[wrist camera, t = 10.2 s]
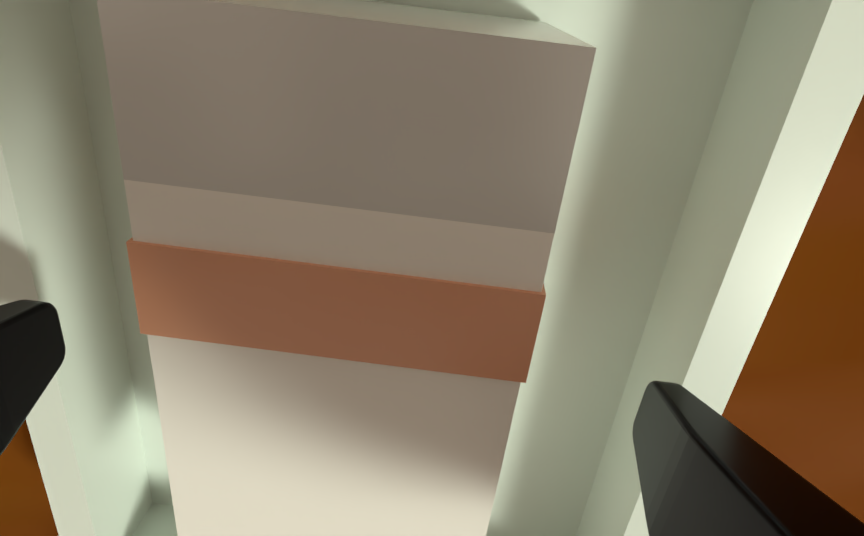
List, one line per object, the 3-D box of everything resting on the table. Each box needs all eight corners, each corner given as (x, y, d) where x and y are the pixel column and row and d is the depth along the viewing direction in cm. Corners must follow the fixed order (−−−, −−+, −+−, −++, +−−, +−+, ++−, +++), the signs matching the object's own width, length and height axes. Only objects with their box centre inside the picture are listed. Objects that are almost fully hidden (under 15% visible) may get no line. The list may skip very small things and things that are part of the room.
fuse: (461, 484, 13) (457, 676, 9) (268, 459, 13) (189, 641, 9) (547, 22, 9) (603, 48, 5) (250, -14, 9) (85, -16, 5)
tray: (589, 564, 15) (610, 666, 12) (135, 504, 15) (76, 595, 13) (853, -170, 8) (1009, -237, 5) (-9, -271, 8) (-202, -377, 6)
